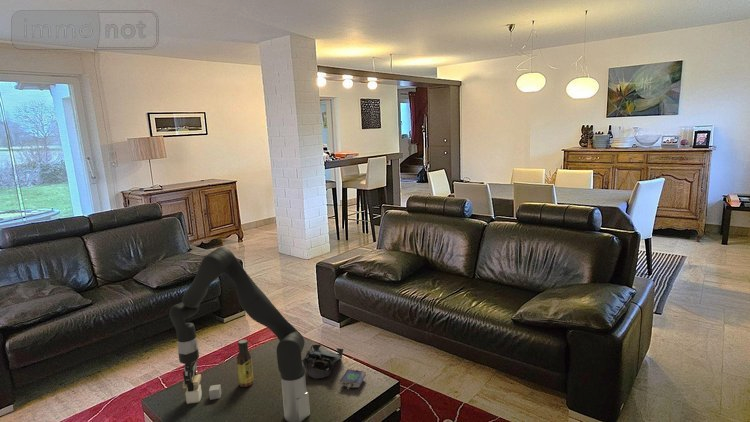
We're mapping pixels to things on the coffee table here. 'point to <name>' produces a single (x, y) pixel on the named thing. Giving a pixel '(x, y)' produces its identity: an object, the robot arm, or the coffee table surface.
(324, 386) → the coffee table surface
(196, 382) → the lid
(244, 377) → the sauce bottle
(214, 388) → the gray cube
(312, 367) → the dark piece
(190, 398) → the white cube box
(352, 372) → the grey electronic device
